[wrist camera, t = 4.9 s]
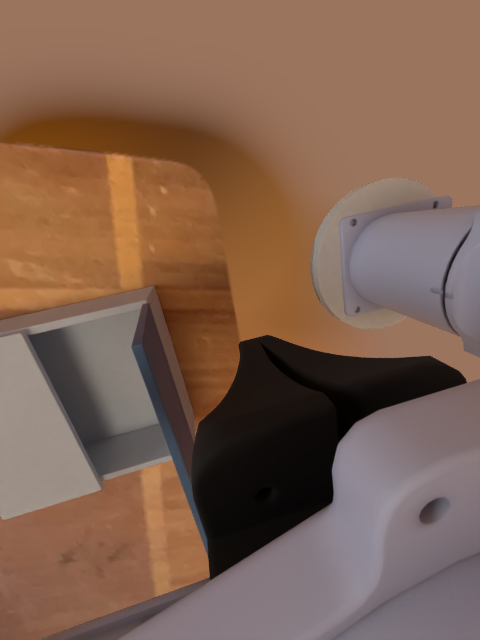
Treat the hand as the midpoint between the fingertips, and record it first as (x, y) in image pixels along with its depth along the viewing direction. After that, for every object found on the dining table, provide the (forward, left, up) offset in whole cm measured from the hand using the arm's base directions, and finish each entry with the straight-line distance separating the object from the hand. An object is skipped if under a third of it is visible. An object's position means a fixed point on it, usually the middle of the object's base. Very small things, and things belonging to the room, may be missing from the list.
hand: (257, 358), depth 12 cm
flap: (+5, +4, -2) cm, 6 cm away
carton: (+11, +4, -10) cm, 16 cm away
